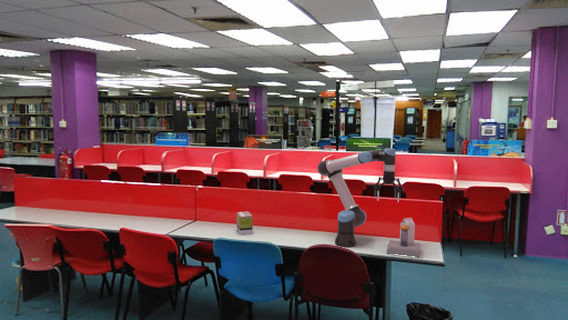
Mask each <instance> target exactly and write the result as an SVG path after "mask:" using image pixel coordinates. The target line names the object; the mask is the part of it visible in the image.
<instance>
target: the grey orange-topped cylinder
mask: <svg viewBox="0 0 568 320" xmlns="http://www.w3.org/2000/svg"><path fill="white" fill-rule="evenodd" d="M399 228H400V229H401V245H403V246H407V244H408V230H409V229H410V227H409V226H407V225H401V224H400V226H399ZM400 229H399V230H400Z"/></svg>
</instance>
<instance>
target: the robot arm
mask: <svg viewBox="0 0 568 320" xmlns="http://www.w3.org/2000/svg"><path fill="white" fill-rule="evenodd" d="M396 154H397V153H396V149H395V148H390V147H389V148H388V147H386V148H384V149H383V150H376V149H372V150H368V151H367V150H365V151H362V152H359V153H355V154H352V155H348V156H345V157H340V158H337V159H333V158H332V159H327V160H326V159H325V160H321V161H320V162H319V163H318V164H317V172H318V173H319V174H320V175H321V176H323V177H324V176H325V177H326V176H327V177H328V180H330V181H331V183H332V184H333V186H334V188H335V190H336V192H337V195H338V196H339V198H340V201H341V203H342V204H343V207H344V210H341V211H340V212H338V214H337V232H336V236H335V240H334V245H336V246H338V247H341V246H342V248H352V247H351V246H353V247H356V246H357V239H356V236H355V228H357V227H361V226H362V225H364V224H365V222H366V221H367V213H366V212H365V210H364V209H361V207H360V206H359V204H356V202H355V200H354V198H353V196H352V193H351V192H350V189H349V187H348V185H347V183H346V181H345V179H344V176H343V174H344V172H343V169H347V168H351V167H355V166H358V165H363V164H366V163H367V164H368V163H370V162H371V163H373V162H374V163H375V162H382V163H383V177H381V176H379V177H378V180H377V181H376V183H375V186H374V187H373V189H372V190H373V191H375V196H377V198H376V201H378V202H379V201H380V189H381V188H382V187H383V186H384V185H393V187H394V189H396V191H397V203H399V202H400V198H401V197H402V193H404V192H405V190H404V187H403V186H402V184H401V182H400V178H399V177H398V178H395V177H396V174H395V172H396V171H395V170H396V157H397V155H396ZM381 181H383V182H382V183H381V184H380V182H381ZM395 181H396V182H397V184H398V186H399V187H398V186H397V185H396V183H395ZM379 184H380V185H379ZM378 186H379V187H378ZM355 245H356V246H355Z"/></svg>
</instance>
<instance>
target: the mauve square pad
mask: <svg viewBox="0 0 568 320" xmlns="http://www.w3.org/2000/svg"><path fill="white" fill-rule="evenodd" d="M420 245H421V243H419V242H414V243H411V242H408V244H407V246H403V245H401V241H400V240H393V239H390V240H389V242H388V245H387V247H386V254H387V253H388V254H387V255H389V254H398V255H407V256H415V257H419V258H420V251H419V250H420V248H421V246H420Z"/></svg>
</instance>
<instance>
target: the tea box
mask: <svg viewBox="0 0 568 320" xmlns="http://www.w3.org/2000/svg"><path fill="white" fill-rule="evenodd" d="M253 219H254V218H253V215H252V214H251V212H249V211H239V212H237V211H236V230H237V232H238V233H239V235H240V236H244V235H246V236H247V235H252V234H253V233H254V232H253V231H254V230H253V223H254V221H253Z"/></svg>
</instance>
